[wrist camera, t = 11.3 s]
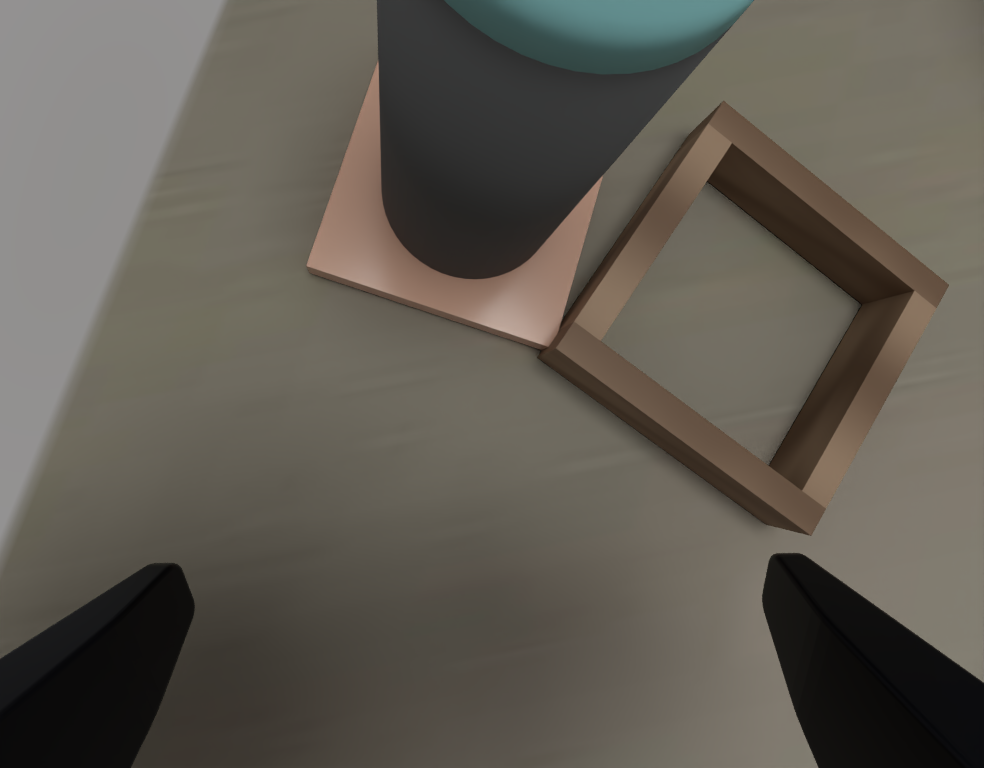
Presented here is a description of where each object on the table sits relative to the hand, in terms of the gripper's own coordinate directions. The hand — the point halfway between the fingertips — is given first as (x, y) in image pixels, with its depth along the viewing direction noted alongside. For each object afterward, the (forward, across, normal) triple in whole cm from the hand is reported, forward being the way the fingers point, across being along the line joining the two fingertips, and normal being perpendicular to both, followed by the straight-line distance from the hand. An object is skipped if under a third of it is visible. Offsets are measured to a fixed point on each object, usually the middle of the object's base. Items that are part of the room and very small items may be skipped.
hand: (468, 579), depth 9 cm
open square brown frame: (+13, -8, +1) cm, 16 cm away
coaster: (+13, +1, -4) cm, 14 cm away
